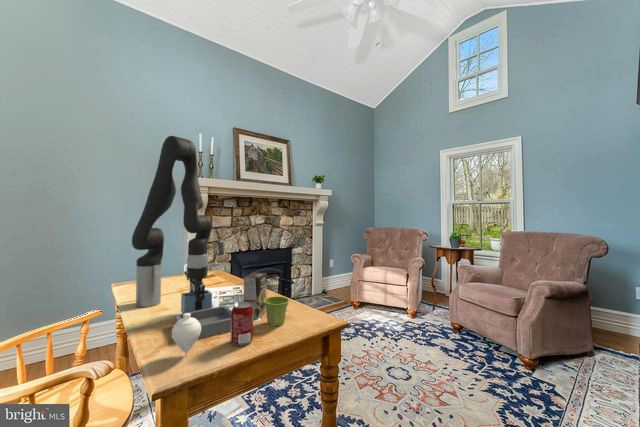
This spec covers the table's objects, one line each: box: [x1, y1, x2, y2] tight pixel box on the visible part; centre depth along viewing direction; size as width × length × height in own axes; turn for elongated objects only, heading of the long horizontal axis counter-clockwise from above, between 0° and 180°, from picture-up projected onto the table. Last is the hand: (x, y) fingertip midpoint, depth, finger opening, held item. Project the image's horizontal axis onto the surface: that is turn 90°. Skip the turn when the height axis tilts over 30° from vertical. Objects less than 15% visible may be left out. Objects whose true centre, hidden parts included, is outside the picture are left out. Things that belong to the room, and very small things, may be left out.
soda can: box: [230, 301, 254, 347], centre depth 88 cm, size 7×7×12 cm
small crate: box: [180, 289, 213, 314], centre depth 110 cm, size 6×10×7 cm, turn 127°
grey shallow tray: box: [174, 305, 232, 340], centre depth 98 cm, size 15×18×4 cm
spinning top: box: [171, 313, 201, 357], centre depth 79 cm, size 8×8×12 cm
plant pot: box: [264, 295, 290, 327], centre depth 103 cm, size 9×9×9 cm
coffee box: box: [242, 272, 268, 321], centre depth 111 cm, size 9×6×16 cm
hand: (196, 307), depth 110 cm, fingers closed on small crate, 6 cm apart
